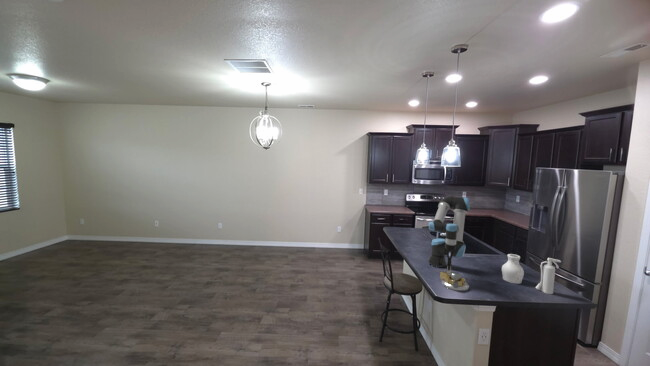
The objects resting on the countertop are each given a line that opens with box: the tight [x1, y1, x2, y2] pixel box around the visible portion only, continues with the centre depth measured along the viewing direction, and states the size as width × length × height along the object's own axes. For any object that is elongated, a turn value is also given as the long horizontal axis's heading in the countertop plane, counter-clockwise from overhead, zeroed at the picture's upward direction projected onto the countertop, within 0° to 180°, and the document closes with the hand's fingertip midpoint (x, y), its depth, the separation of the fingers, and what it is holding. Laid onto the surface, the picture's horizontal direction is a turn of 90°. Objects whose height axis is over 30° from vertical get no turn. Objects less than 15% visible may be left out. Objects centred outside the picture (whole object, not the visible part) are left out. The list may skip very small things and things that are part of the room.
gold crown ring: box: [439, 270, 466, 287], centre depth 191 cm, size 17×12×5 cm
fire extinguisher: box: [535, 257, 562, 295], centre depth 183 cm, size 7×12×25 cm, turn 65°
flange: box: [441, 271, 470, 292], centre depth 189 cm, size 18×18×9 cm
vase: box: [501, 253, 525, 285], centre depth 201 cm, size 14×14×20 cm
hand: (448, 273), depth 198 cm, fingers closed
